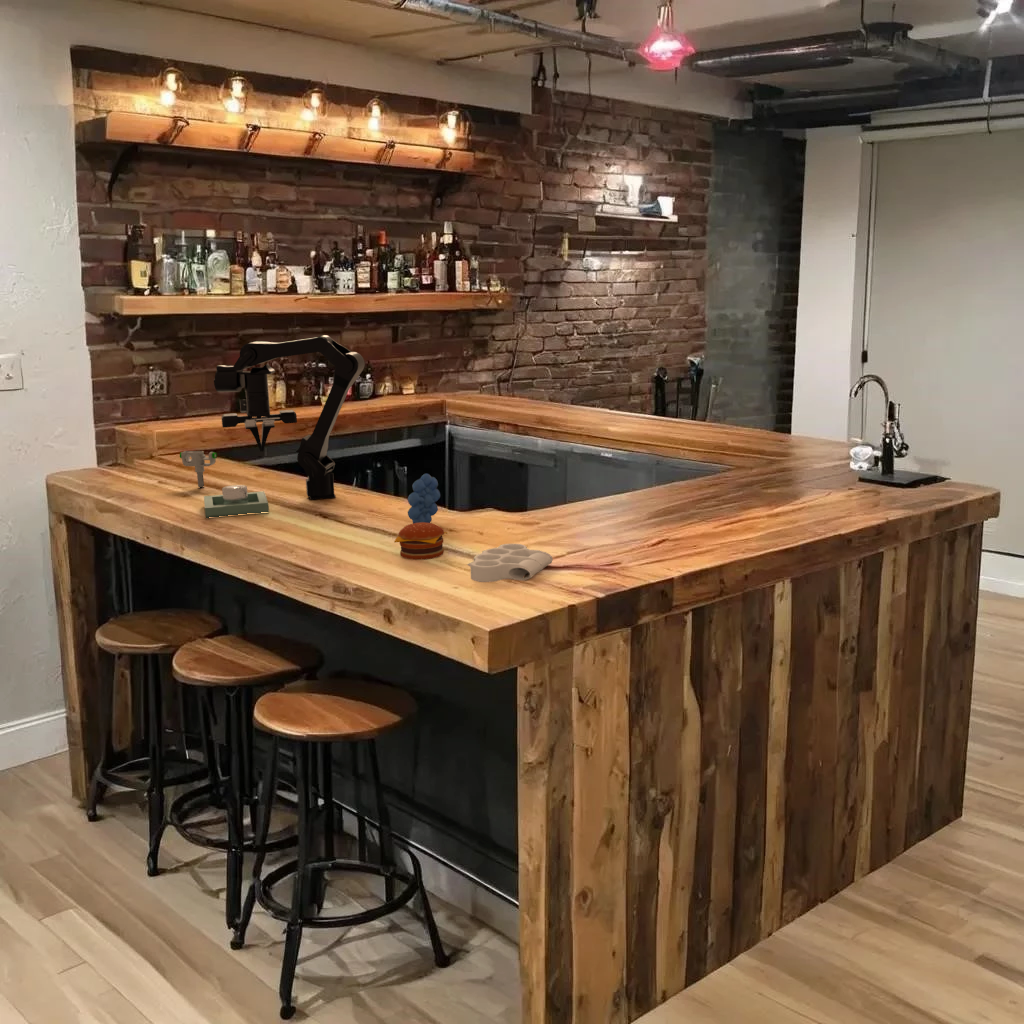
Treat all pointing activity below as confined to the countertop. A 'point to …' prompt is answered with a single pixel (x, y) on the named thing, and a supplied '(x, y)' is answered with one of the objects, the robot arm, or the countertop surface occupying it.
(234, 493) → the silver rounded cylinder
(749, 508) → the countertop surface
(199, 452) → the mechanical component
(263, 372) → the robot arm
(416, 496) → the grapes
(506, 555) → the multi-hole tube bracket
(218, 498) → the socket frame
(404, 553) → the hamburger
